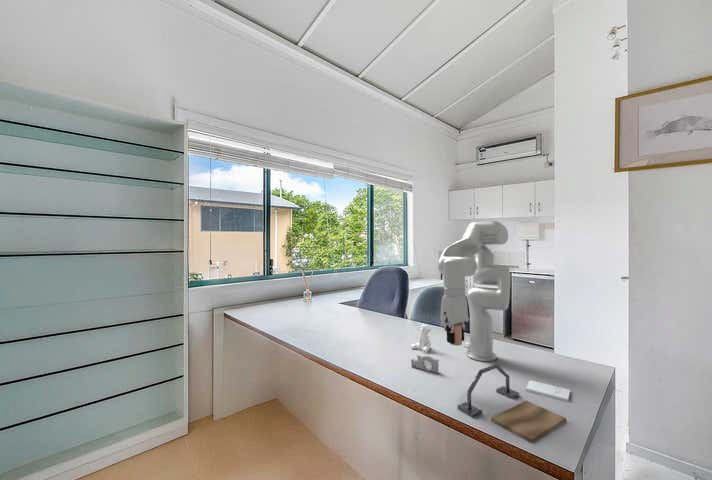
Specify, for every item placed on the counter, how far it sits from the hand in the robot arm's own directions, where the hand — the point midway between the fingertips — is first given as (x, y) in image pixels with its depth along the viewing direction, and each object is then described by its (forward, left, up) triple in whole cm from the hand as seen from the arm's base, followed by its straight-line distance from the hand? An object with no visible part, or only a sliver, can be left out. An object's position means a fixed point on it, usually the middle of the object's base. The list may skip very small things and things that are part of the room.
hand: (455, 340), depth 116 cm
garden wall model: (-17, 0, -17) cm, 24 cm away
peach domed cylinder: (0, 0, -1) cm, 1 cm away
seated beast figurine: (-35, +17, -17) cm, 42 cm away
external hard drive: (+21, +23, -17) cm, 35 cm away
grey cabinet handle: (+14, 0, -16) cm, 22 cm away
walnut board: (+27, 0, -16) cm, 32 cm away
